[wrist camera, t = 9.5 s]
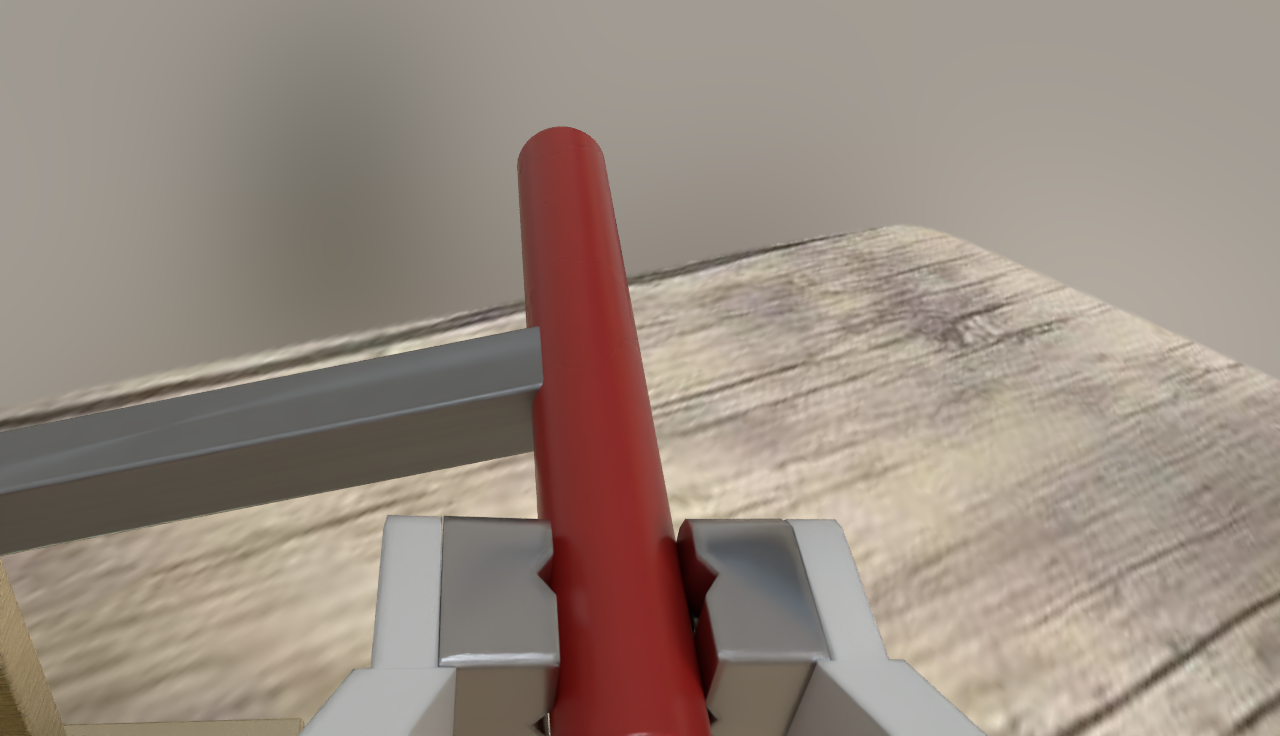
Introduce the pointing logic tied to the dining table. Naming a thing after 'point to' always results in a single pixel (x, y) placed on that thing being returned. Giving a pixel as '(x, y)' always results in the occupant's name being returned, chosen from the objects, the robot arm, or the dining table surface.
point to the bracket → (33, 730)
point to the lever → (439, 452)
